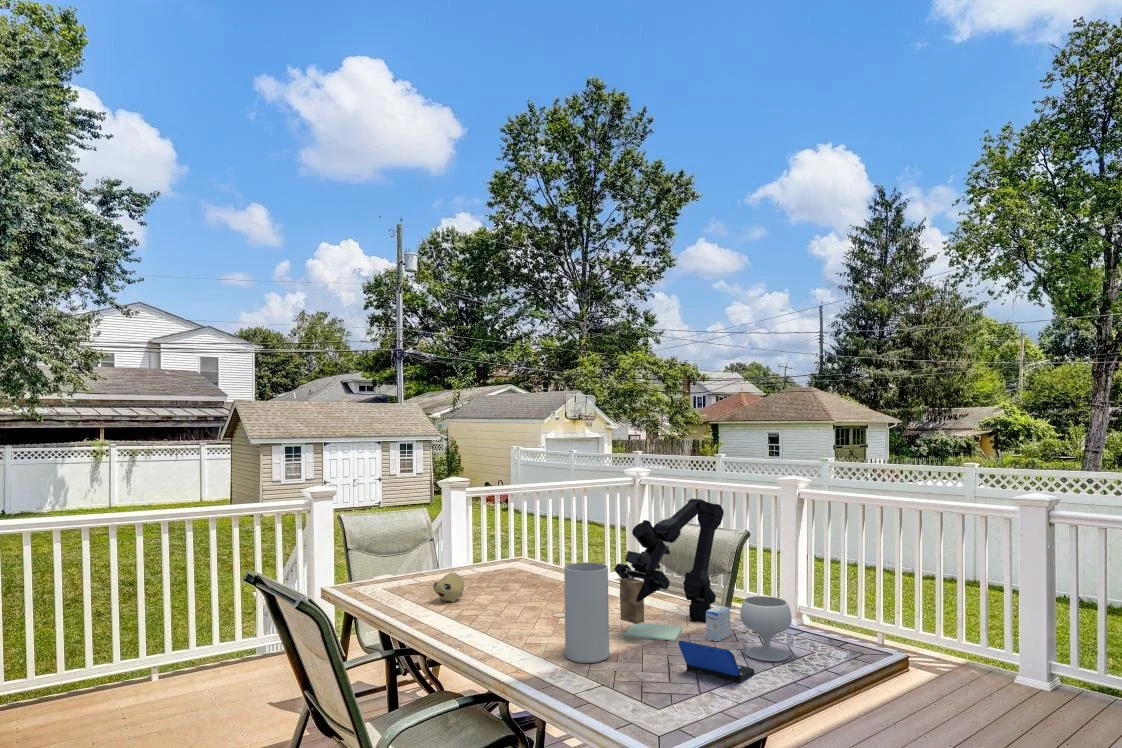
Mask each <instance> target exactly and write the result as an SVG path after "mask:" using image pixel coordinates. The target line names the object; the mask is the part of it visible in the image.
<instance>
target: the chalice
mask: <svg viewBox="0 0 1122 748" xmlns="http://www.w3.org/2000/svg"><path fill="white" fill-rule="evenodd" d="M739 616H740V620H741V622H742V623H743V625H744V626H746V628H748V629H750V631H752V632H755V633H756V634H757V635H758V636H760V637H761V639H762V642H763V644H762V645H761V646H752V647H748V648H747V649H746V650H745V651H744V654H745V655H746V656H747V657H749V658H751V659H753V660H758V661H763V662H764V661H766V662H781V661H786V660H788V659H789V658H791V657H790V653H789V652H787V651H786V650H785V649H781V648H778V647H773V646H771V641H772V639H773V638H774V637H775V636H776V635H777V634H781V633H782V632H784V631H787V630H788V629H789V628H790V627H791V625H792V623H793V622H792V617H793V616H792V611H791V609H790V606H789V604H788V602H787V601H786V600H784V599H782V598H779V597H776V596H775V597H773V596H767V595H765V596H764V595H757V596H756V595H755V596H748V597H746V598H744V600H743V601H742V604H741V608H740V615H739Z"/></svg>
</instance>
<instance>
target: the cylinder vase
mask: <svg viewBox="0 0 1122 748" xmlns="http://www.w3.org/2000/svg"><path fill="white" fill-rule="evenodd" d="M563 571H564V572H563V573H564V579H563V580H564V641H565V642H564V651H565V653H564V654H565V657H566V658H567V659H568V660H570V661H572V662H574V663H580V664H594V663H595V664H596V663H600V662H604V661H605V660H606V659H608V658H609V657H610V624H609V623H610V621H609V619H610V618H609V615H610V614H609V613H610V611H609V607H610V606H609V566H608V565H607V564H605V563H599V562H590V561H589V562H574V563H569V564H568V563H567V564H566V565H564V569H563Z"/></svg>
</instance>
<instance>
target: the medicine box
mask: <svg viewBox="0 0 1122 748" xmlns="http://www.w3.org/2000/svg"><path fill="white" fill-rule="evenodd" d="M705 629H706V630H705V632H706V634H705V635H706V640H707V639H711V640H716V641H720V642H722V641H723V640H725V639H727V638H728V637H730V636H731V608H730V607H726V606H721V605H715V606H714V607H711V609H709V610H707V611H706V622H705ZM729 635H730V636H729ZM726 637H727V638H726ZM724 638H725V639H724ZM722 639H723V640H722ZM711 640H710V641H711ZM721 640H722V641H721ZM716 641H715V642H716Z"/></svg>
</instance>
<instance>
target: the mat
mask: <svg viewBox="0 0 1122 748" xmlns="http://www.w3.org/2000/svg"><path fill="white" fill-rule="evenodd" d="M682 629H683V630H684V626H678V625H677V626H676V625H668V624H667V625H666V624H657V623H656V624H655V623H646V622H642V623H639V624H634V623H632V625H631V626H630V627H629V628H628V629H627V630H625V631H626V632H625V633H623V638H624V637H625V638H634V639H646V640H653V639H661V640H660V641H663V640H670V641H669V642H673V641H675V640H677V639H678V638H679V636H680V635H681V633H682V632H683V630H682ZM677 637H678V638H677ZM675 642H676V641H675Z"/></svg>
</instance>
